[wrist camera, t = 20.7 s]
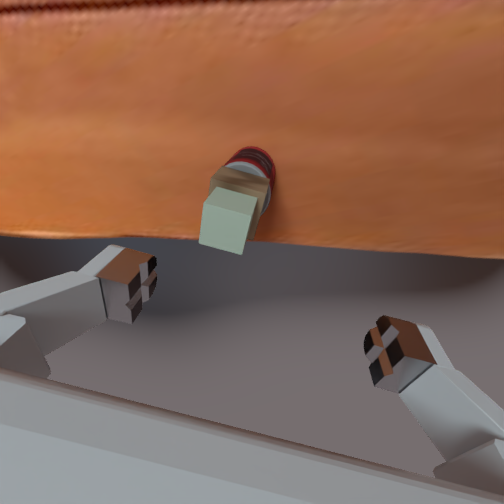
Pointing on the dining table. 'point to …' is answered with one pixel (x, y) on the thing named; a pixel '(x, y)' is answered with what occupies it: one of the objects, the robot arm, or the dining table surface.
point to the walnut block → (242, 189)
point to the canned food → (255, 167)
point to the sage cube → (227, 220)
